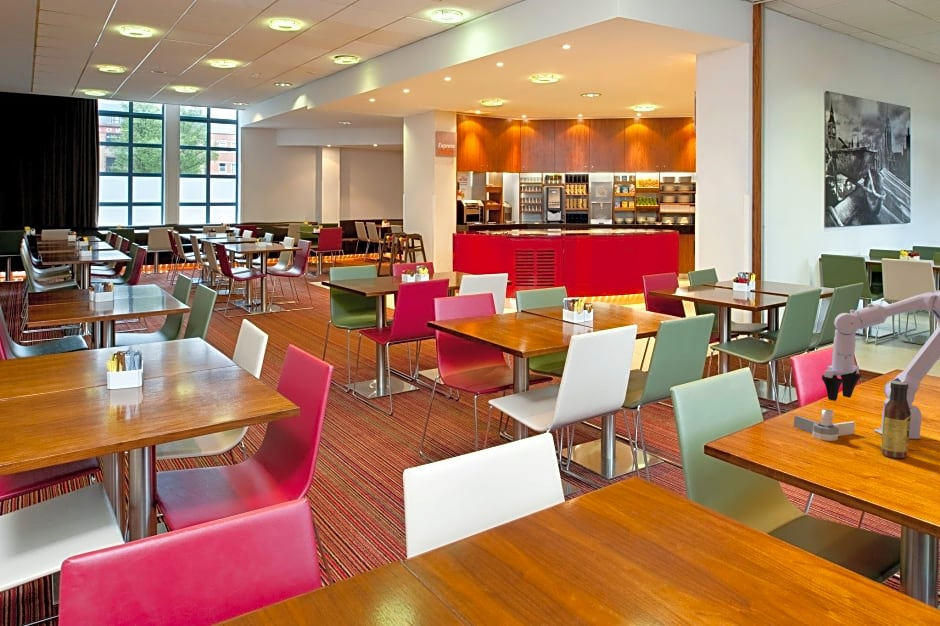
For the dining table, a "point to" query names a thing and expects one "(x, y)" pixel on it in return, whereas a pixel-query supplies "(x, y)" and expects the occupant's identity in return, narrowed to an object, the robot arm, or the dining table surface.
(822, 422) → the hinge pin
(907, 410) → the sauce bottle
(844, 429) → the hinge
